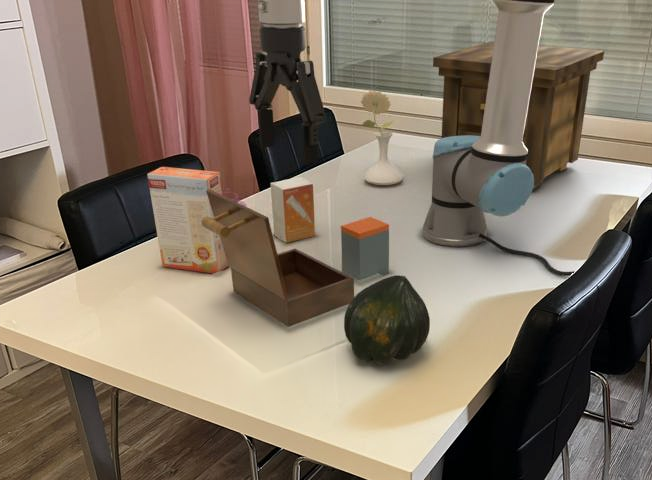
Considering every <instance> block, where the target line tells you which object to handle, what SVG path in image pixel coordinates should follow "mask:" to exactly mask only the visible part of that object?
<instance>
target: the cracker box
mask: <svg viewBox="0 0 652 480" xmlns="http://www.w3.org/2000/svg"><path fill="white" fill-rule="evenodd" d="M146 175H147V176H146V177H147V181H148V188H149V193H150V194H149V195H150V199H151V205H152V211H153V217H154V224H155V229H156V237H157V241H158V242H157V243H158V246H159V247H158V248H159V252H160V253H159V254H160V259H161V265H162V267H164V268H172V269H178V270H187V271H192V272H201V273H207V274H212V275H213V274H216V273H219V272H222V271H224V270H225V269H226V268H229V266H228V262H227V259H226V255H225V252H224V249H223V245H222V242H221V239H220V236H219V235H217V234H215V233H214V232H212V231H210V230H208V229H206V228H205V227H203V226H202V219H203V218H204V217H210V218H213V217H214V215H213V212H212V209H211V205H210V202H209V199H208V195H207V192H206V191H207V190H209V189H210V190H212V191H214V192H217V193H219V194H221V195H223V188H222V182H221V181H222V180H221V173H220V171H213V170H212V171H211V170H203V169H202V170H201V169H191V168H190V169H189V168H179V167H171V166H170V167H169V166H159V167H158V168H157V169H155V170H152V171H150V172H148V173H147V174H146Z"/></svg>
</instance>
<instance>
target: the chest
mask: <svg viewBox="0 0 652 480" xmlns="http://www.w3.org/2000/svg"><path fill="white" fill-rule="evenodd" d="M277 255H278V259H279V263H280V267H281V271H282V275H283V279H284V283H285V287H286V291H287V295H288V299H287V300H286V301H285V300H283V299H281V298H280V297H278V296H276V295H275V294H273V293H271V292H270V291H268V290H266V289H265V288H263V287H261V286H260V285H258V284H256V283H255V282H253V281H251V280H250V279H248V278H246V277H245V276H243V275H241V274H240V273H238V272H236V271H235V270H233V269H231V268H230V272H231V282H232V290H233V293H235V294H237V295H238V296H240V297H241V298H243V299H244V300H246V301H247V302H249V303H251V304H252V305H254V306H255V307H257V308H259V309H260V310H262V311H263V312H265V313H267V314H268V315H270V316H271V317H273V318H274V319H275V320H277V321H279V322H280V323H282V324H283V325H285V326H286V327H292V326H294V325H297V324H300V323H303V322H306V321H308V320H310V319H313V318H316V317H318V316H321V315H323V314H326V313H329V312H332V311H334V310H336V309H339V308H341V307H345V306H347V305H349V304H350V303H351V302H352V300H353V299H354V297H355V278H354V277H352V276H350V275H348V274H346V273H344V272H342V270H341V271H340V270H339V269H337V268H335V267H333V266H331V265H329V264H328V263H325V262H323V261H321V260H319V259H317V258H315V257H313V256H311V255H309V254H308V253H305V252H304V251H301V250H300V249H298V248H292V249H288V250H285V251H282V252H279V253H277Z"/></svg>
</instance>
